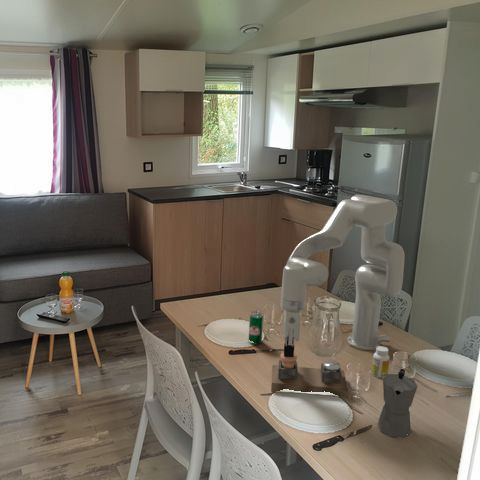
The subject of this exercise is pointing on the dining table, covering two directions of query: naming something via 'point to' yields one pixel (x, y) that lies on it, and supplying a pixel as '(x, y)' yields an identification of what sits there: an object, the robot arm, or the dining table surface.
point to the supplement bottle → (380, 362)
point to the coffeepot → (397, 404)
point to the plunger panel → (308, 380)
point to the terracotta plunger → (288, 361)
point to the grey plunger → (331, 366)
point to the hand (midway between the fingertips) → (288, 355)
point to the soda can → (256, 327)
